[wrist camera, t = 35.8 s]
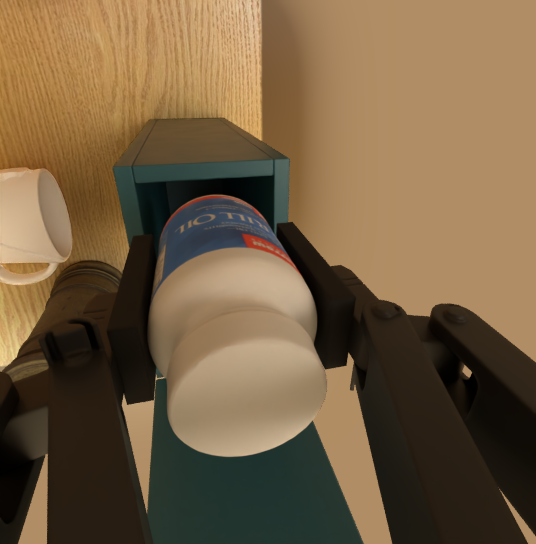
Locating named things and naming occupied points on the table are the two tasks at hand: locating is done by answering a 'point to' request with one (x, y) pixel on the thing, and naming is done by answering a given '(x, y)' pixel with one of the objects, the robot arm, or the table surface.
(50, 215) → the mug
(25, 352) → the container
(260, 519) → the lid
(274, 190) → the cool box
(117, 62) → the table surface
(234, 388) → the pill bottle
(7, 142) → the table surface
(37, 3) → the table surface
